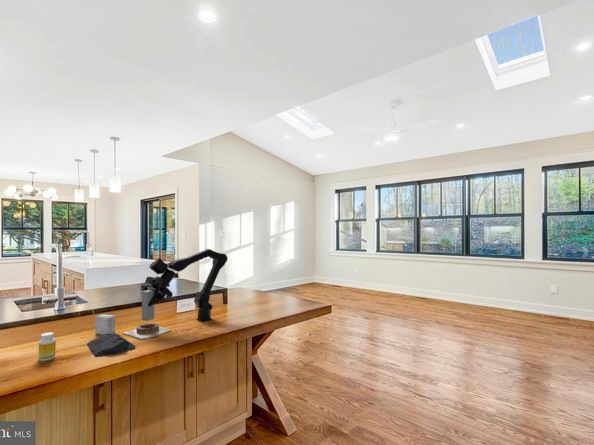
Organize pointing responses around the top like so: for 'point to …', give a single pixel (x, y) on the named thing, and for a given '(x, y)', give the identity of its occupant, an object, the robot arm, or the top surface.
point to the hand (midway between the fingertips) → (145, 305)
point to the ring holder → (147, 331)
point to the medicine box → (105, 324)
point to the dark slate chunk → (109, 345)
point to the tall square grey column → (146, 310)
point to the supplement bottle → (47, 347)
